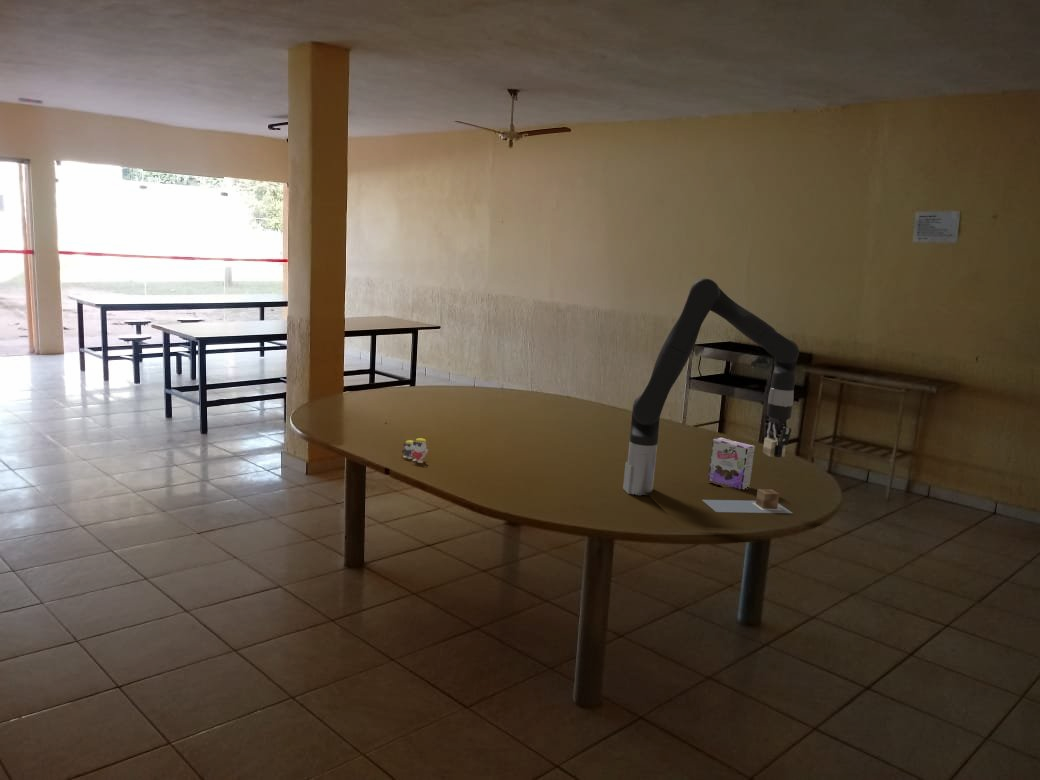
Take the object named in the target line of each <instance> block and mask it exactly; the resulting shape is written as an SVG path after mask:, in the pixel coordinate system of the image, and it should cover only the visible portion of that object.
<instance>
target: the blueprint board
mask: <svg viewBox="0 0 1040 780" xmlns="http://www.w3.org/2000/svg"><path fill="white" fill-rule="evenodd" d="M701 501H702V502H703V503H705V504H706V505H707V506H709V507H710V508H711V509H712V510H713V511H714V512H715V513H741V514H742V513H746V514H747V513H749V514H750V513H752V514H754V513H755V514H759V513H760V514H762V513H763V514H793V512H792V511H790V510H789V509H787V508H786V507H784V506H783V505H782V504H780V503H779V502H778V507H777V509H763V508H761V507H760V506H758V505H757V504H756V500H741V499H740V500H739V499H737V500H736V499H733V500H732V499H701Z"/></svg>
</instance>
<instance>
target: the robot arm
mask: <svg viewBox="0 0 1040 780" xmlns="http://www.w3.org/2000/svg"><path fill="white" fill-rule="evenodd" d="M709 312H712V313H714V314H716V315H718V316H719V317H721V318H723V319H724V320H725V321H727V322H728V323H729V324H730V325H732V327H734V328H735V329H736V330H737V331H739V332H740V333H741V334H742V335H744V336H745V337H746V338H748V339H749V340H750V341H752V342H754V343H755V344H756V345H757V346H760V347H761V348H763V349H764V350H765V351H766V352H767V353H769V354H770V356H772V357H773V358H774V364H773V372H772V376H771V383H770V389H769V392H768V399H767V400H768V401H767V407H766V413H765V414H766V416H767V417H768V418H764V419H763V437H764V438H775V440H776V445H775V453H774V456H775V457H774V458H782V457H781V456H782V448H783V446H784V445H786V446H788V444H789V441H790V437H791V432H792V428H791V427H787V424H788V423H787V420H790V419H791V418H792V411H793V405H794V398H795V397H794V391H795V386H796V385H795V383H796V368H797V363H798V358H799V355H800V349H799V346H798V344H797V343H796V342H795V341H793V340H791V339H788V338H786V337H785V336H784V335H782V334H780V332H778V331H777V330H776V329H775V328H774V327H773V326H771V325H770V324H769V323H767V322H766V321H764V320H763V319H761V317H759V316H757V315H756V314H754V313H752V312H751V311H749V310H748V309H745V308H744V307H743V306H741V305H739V304H738V303H737V302H735V301H734V300H732V299H731V298H730V297H729V296H728V295H727V294H726V293H725V292H724V291H723V290H722V289H721V288H720V287H719V285H718V283H717V282H715V281H714V280H712V279H710V278H700V279H698V280H696V281H695V282H694V283H693V284H692V285H691V287H690V290H689V294H688V296H687V298H686V301H685V304H684V306H683V309H682V311H681V313H680V315H679V318H678V319H677V320H676V321H675V323H674V325H673V327H672V328H671V330H670V332H669V333H668V335H667V337H666V339H665V341H664V342H663V345H662V347H660V348H661V349H660V351H659V353H658V354H657V356H656V357H657V358H656V360H655V363H654V366H653V370H652V373H651V376H650V378H649V381H648V383H647V385H646V386H645V389H644V390H643V392H642V393H641V394H640V395H639V396H637V398H635V400H634V402H633V404H632V412H631V424H630V431H629V433H630V434H629V442H628V443H629V445H628V454H627V461H625V465H624V474H623V485H622V489H623V491H625V492H626V493H627V494H628V495H634V494H635V496H641V495H646V496H651V492H653V489H654V480H655V479H654V478H655V471H656V470H655V469H656V461H657V451H658V450H657V449H658V443H659V441H658V440H659V429H660V418H661V415H662V411H663V409H664V406H665V403H666V401H667V398H668V396H669V394H670V391H671V390H672V388H673V386H674V385H675V384H676V381H677V380H678V378H679V376H680V375H681V374H682V371H683V370H684V368H685V366H686V364H687V362H688V360H689V358H690V356H691V354H692V352H693V350H694V347H695V345H696V342H697V339H698V335H699V333H700V331H701V327H702V325H703V323H704V321H705V319H706V318H707V316H708V314H709ZM779 438H780V439H779Z"/></svg>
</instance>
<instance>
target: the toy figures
mask: <svg viewBox="0 0 1040 780" xmlns="http://www.w3.org/2000/svg"><path fill="white" fill-rule="evenodd" d="M403 446H404V448H403V449H402V450H401V452H402V454H404V455H403V456H402V457H403V458H405V459H408V460H411V461H412V462H414V461H417V462H416V463H418V464H419V463H420V464H423V463H424V458H426V456H427V454H428V452H429V449H428V448H427V440H426V439H425V438H421V437H418V438H416V439H415V440H413V439H412V440H411V439H409V440H408V439H407V440H406V441H405V442H403ZM414 456H415V457H414ZM413 457H414V458H413Z"/></svg>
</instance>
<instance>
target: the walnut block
mask: <svg viewBox="0 0 1040 780" xmlns="http://www.w3.org/2000/svg"><path fill="white" fill-rule="evenodd" d="M779 498H780V493H778V492H776V491H775V490H774V489H771V488H757V491H756V499H755V501H756V504H757V505H758V506H760V507H761V508H763V509H777V507H778V503H779Z"/></svg>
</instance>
